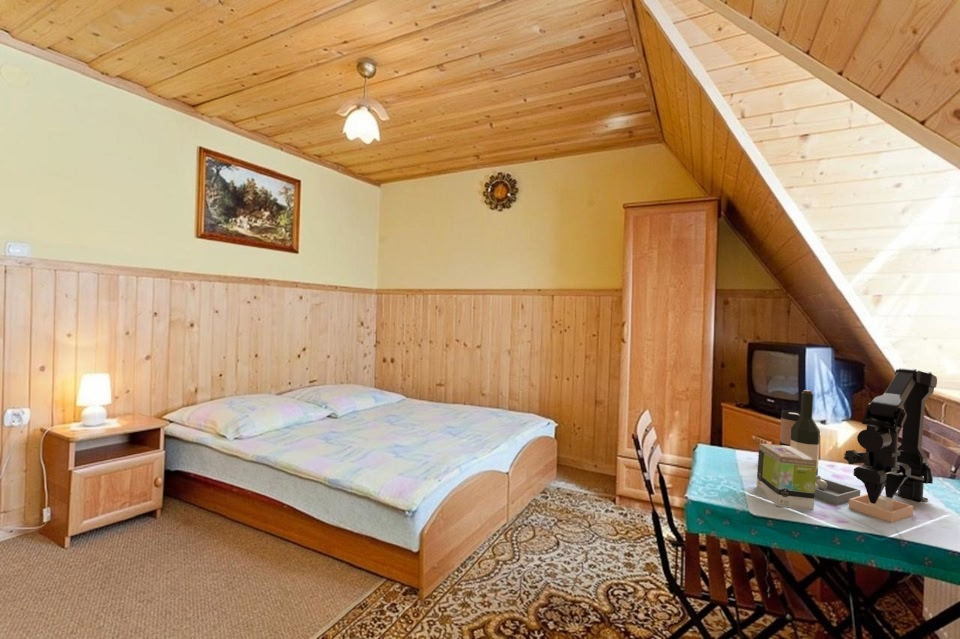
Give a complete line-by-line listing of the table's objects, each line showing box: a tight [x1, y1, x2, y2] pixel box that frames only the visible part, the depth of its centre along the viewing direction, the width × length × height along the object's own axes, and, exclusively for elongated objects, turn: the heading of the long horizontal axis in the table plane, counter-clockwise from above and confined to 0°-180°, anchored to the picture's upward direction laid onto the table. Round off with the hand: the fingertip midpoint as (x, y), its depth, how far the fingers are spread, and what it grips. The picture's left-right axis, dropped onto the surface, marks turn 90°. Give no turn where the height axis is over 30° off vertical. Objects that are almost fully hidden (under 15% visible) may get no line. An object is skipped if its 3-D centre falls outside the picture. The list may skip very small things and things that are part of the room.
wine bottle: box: [790, 389, 821, 476], centre depth 159 cm, size 8×8×30 cm
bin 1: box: [814, 475, 861, 505], centre depth 147 cm, size 13×22×4 cm, turn 27°
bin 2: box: [848, 493, 914, 523], centre depth 131 cm, size 12×10×3 cm
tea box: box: [756, 443, 817, 510], centre depth 139 cm, size 15×10×15 cm, turn 170°
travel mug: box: [779, 409, 801, 446], centre depth 171 cm, size 8×8×20 cm
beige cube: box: [869, 494, 894, 512], centre depth 131 cm, size 4×4×4 cm
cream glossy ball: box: [815, 479, 827, 490], centre depth 146 cm, size 3×3×3 cm
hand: (880, 500), depth 131 cm, fingers open, 9 cm apart
